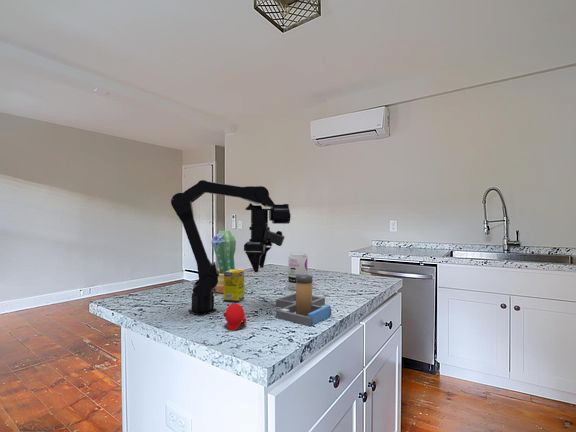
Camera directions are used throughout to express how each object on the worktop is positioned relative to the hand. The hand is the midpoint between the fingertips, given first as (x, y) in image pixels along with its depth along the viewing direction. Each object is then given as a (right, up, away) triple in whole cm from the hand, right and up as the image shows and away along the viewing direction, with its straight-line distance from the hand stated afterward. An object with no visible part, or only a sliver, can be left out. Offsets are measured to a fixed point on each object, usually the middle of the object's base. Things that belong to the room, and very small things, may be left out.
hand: (259, 269), depth 106 cm
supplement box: (-10, -13, +10) cm, 19 cm away
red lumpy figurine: (-5, -13, -17) cm, 22 cm away
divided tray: (+15, -13, -2) cm, 20 cm away
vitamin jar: (+15, -13, -8) cm, 21 cm away
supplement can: (+14, -13, +29) cm, 35 cm away
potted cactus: (-16, -13, +25) cm, 33 cm away
